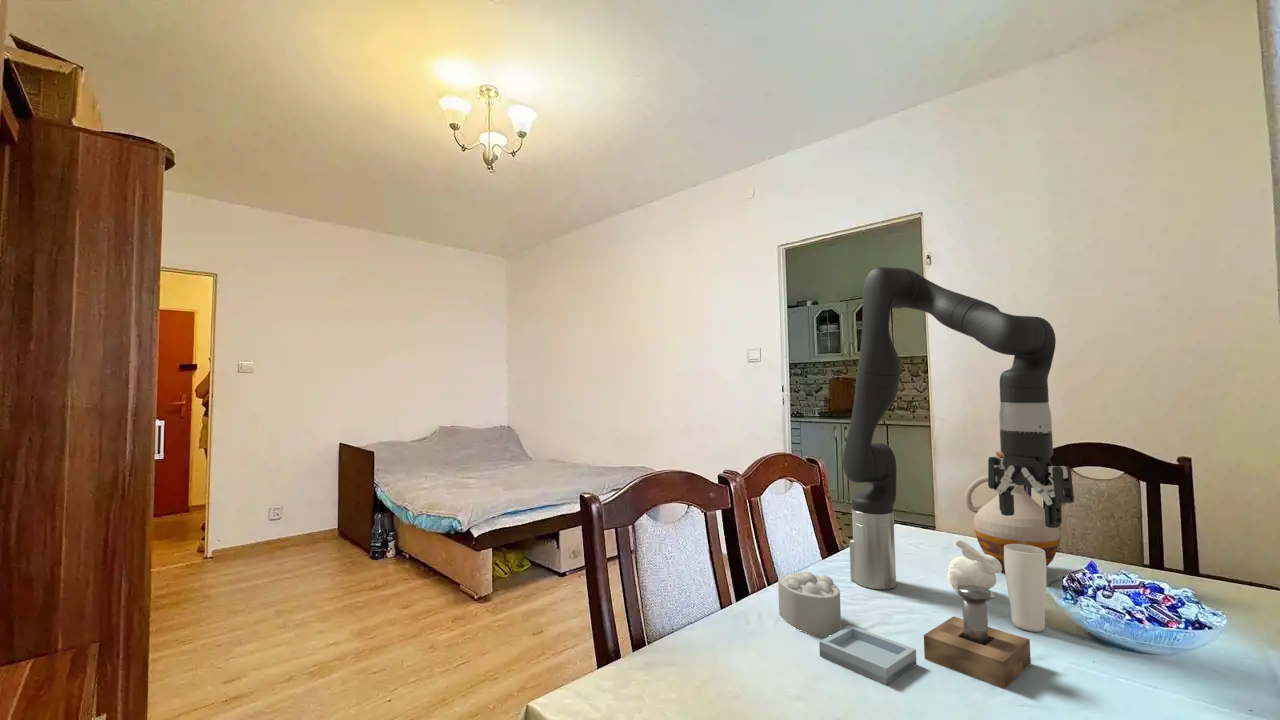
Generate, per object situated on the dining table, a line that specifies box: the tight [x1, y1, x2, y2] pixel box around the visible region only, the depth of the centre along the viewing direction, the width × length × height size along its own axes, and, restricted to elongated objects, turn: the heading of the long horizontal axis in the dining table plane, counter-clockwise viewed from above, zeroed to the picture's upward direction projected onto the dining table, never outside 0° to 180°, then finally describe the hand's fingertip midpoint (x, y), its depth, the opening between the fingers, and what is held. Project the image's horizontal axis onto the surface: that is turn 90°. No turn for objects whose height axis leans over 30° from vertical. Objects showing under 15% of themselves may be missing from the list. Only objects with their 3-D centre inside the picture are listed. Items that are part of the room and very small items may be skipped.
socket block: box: [923, 616, 1032, 689], centre depth 92 cm, size 12×12×4 cm
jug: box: [964, 450, 1061, 575], centre depth 136 cm, size 20×18×30 cm
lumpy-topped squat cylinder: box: [777, 571, 842, 637], centre depth 108 cm, size 10×13×9 cm
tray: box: [818, 625, 917, 686], centre depth 92 cm, size 12×10×2 cm
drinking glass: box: [1004, 544, 1048, 633], centre depth 105 cm, size 7×7×15 cm
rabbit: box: [947, 540, 1002, 599], centre depth 122 cm, size 12×9×12 cm
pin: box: [957, 584, 992, 646], centre depth 92 cm, size 5×5×12 cm
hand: (1029, 521), depth 94 cm, fingers open, 8 cm apart
